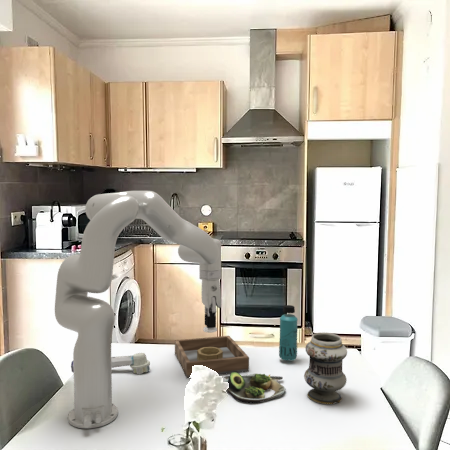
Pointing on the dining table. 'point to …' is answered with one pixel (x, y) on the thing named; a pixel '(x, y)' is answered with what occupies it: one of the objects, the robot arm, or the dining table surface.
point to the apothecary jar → (325, 368)
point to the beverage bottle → (288, 334)
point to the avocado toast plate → (253, 387)
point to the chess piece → (209, 329)
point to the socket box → (211, 355)
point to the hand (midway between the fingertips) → (210, 325)
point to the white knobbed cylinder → (129, 363)
